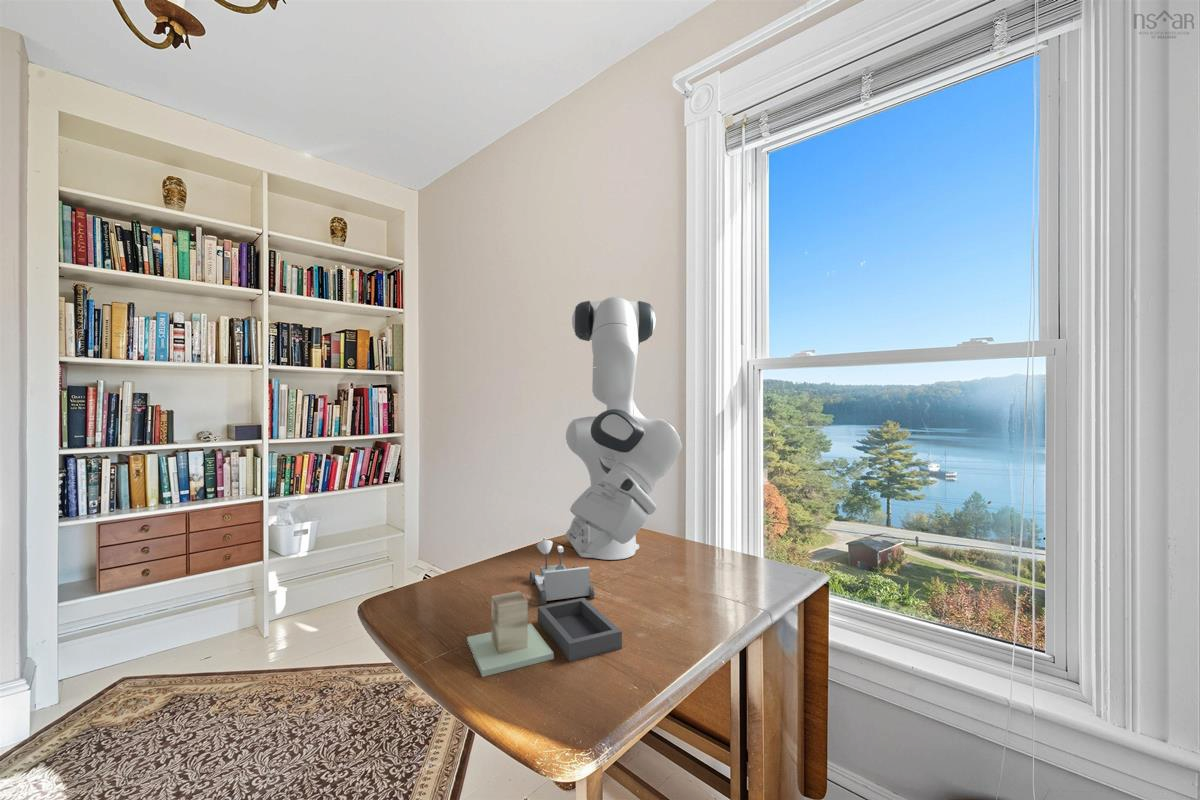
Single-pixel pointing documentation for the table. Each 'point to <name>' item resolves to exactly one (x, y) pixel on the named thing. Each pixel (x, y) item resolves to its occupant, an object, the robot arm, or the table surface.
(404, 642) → the table surface
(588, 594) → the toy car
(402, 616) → the table surface
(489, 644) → the pad
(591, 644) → the tray
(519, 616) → the birch block
